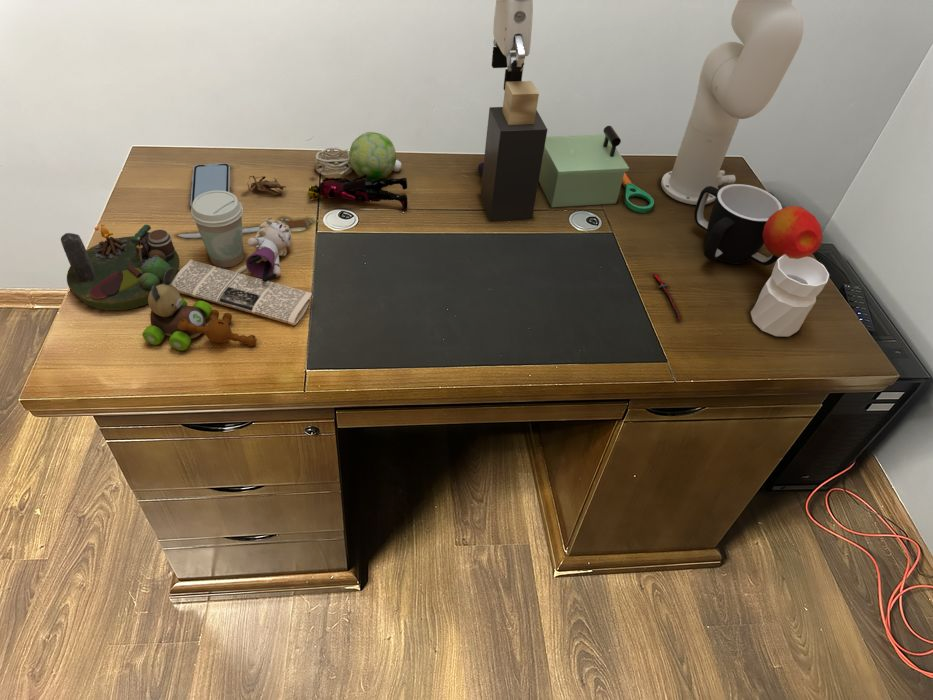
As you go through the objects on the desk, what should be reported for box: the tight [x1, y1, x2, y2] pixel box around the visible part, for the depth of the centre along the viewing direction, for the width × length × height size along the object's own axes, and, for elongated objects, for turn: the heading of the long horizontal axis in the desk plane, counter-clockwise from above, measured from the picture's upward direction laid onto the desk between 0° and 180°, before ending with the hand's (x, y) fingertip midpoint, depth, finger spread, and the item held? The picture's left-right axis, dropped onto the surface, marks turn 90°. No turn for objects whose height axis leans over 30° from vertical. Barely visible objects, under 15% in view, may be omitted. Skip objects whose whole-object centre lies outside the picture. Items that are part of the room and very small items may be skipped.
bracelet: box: [314, 146, 354, 177], centre depth 147 cm, size 4×8×8 cm
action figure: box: [303, 174, 409, 211], centre depth 140 cm, size 15×6×20 cm
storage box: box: [538, 150, 626, 208], centre depth 148 cm, size 15×14×8 cm
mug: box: [693, 183, 783, 266], centre depth 134 cm, size 16×16×12 cm
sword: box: [176, 217, 313, 240], centre depth 132 cm, size 25×1×5 cm
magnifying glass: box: [621, 172, 655, 214], centre depth 151 cm, size 15×6×2 cm, turn 14°
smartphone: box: [190, 162, 231, 208], centre depth 140 cm, size 7×1×15 cm
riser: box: [479, 106, 548, 222], centre depth 137 cm, size 9×9×20 cm
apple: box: [763, 205, 824, 259], centre depth 121 cm, size 9×9×12 cm
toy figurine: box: [178, 309, 258, 347], centre depth 111 cm, size 12×4×7 cm
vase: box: [750, 254, 830, 338], centre depth 121 cm, size 9×9×12 cm
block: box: [502, 80, 540, 125], centre depth 127 cm, size 5×5×6 cm
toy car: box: [141, 268, 213, 352], centre depth 109 cm, size 9×9×11 cm
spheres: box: [392, 159, 403, 173], centre depth 153 cm, size 15×2×2 cm
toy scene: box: [60, 222, 180, 311], centre depth 116 cm, size 18×18×11 cm
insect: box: [247, 175, 287, 196], centre depth 140 cm, size 4×8×5 cm
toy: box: [234, 216, 293, 282], centre depth 124 cm, size 8×10×15 cm
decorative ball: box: [348, 131, 397, 181], centre depth 144 cm, size 10×10×10 cm
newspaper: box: [170, 259, 313, 326], centre depth 119 cm, size 24×7×2 cm, turn 73°
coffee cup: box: [190, 190, 245, 268], centre depth 122 cm, size 8×8×12 cm
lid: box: [544, 125, 630, 175], centre depth 143 cm, size 15×14×5 cm
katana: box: [653, 273, 681, 322], centre depth 127 cm, size 13×2×1 cm, turn 8°
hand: (505, 78), depth 133 cm, fingers open, 9 cm apart
